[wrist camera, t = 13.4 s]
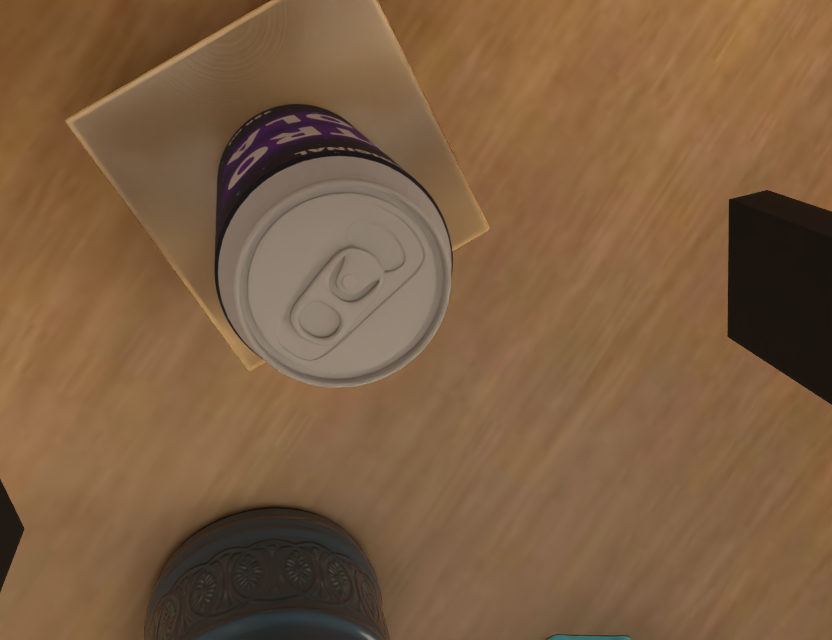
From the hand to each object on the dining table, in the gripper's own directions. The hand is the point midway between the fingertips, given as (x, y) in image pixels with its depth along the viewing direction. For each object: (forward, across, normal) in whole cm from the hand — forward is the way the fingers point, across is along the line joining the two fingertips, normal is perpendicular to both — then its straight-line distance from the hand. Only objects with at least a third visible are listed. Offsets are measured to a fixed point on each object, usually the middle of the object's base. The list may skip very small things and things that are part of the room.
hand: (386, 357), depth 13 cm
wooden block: (+24, 0, 0) cm, 24 cm away
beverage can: (+16, 0, 0) cm, 16 cm away
